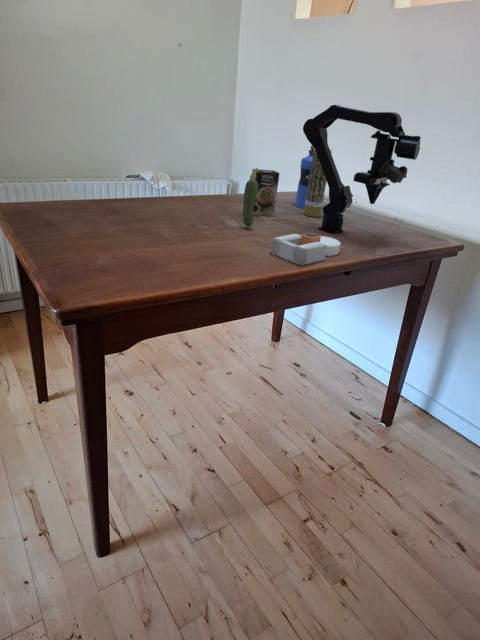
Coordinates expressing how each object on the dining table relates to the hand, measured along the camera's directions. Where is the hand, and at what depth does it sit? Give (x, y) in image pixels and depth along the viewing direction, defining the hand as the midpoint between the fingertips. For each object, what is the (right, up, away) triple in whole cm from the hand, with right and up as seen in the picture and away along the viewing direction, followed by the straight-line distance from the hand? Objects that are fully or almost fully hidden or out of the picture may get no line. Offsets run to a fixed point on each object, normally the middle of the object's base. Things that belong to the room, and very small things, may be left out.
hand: (372, 203), depth 152 cm
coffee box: (-36, +2, +24) cm, 44 cm away
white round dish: (-19, -18, -11) cm, 28 cm away
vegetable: (-42, -8, +4) cm, 43 cm away
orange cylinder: (-24, -19, -16) cm, 35 cm away
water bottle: (-16, +10, +43) cm, 47 cm away
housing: (-28, -20, -19) cm, 39 cm away
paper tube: (-16, +3, +29) cm, 33 cm away
